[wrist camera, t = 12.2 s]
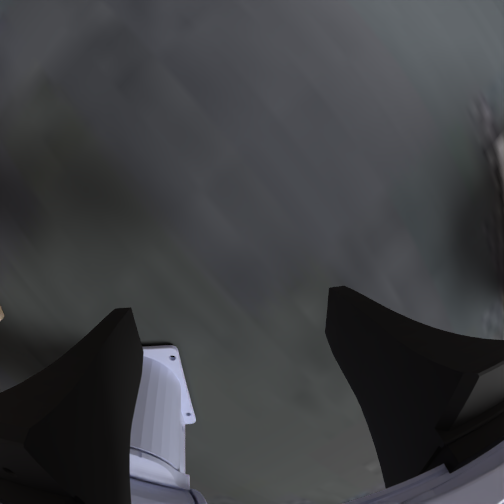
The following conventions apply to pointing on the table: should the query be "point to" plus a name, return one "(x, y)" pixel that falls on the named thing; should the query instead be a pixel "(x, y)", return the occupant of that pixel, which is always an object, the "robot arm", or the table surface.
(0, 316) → the birch rack
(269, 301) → the table surface
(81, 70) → the table surface
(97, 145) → the table surface
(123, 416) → the robot arm
